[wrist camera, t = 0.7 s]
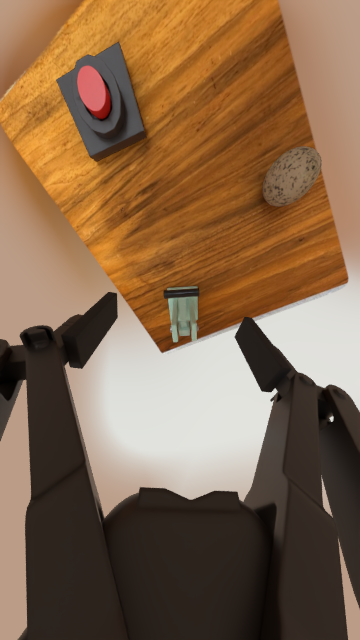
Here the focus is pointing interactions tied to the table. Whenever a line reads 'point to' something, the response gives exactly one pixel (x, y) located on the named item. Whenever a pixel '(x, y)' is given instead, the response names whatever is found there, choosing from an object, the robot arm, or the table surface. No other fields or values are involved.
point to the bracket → (190, 314)
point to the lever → (182, 306)
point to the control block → (124, 113)
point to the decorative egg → (291, 176)
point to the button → (94, 92)
